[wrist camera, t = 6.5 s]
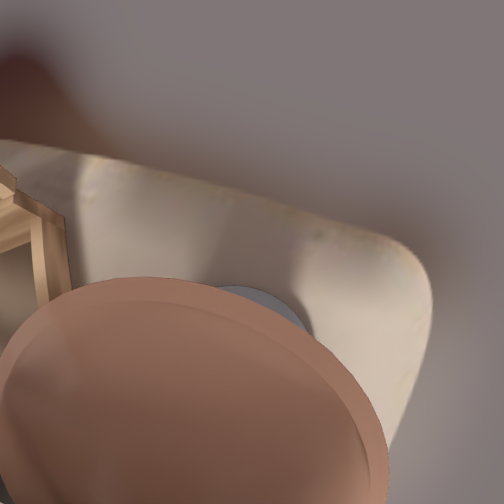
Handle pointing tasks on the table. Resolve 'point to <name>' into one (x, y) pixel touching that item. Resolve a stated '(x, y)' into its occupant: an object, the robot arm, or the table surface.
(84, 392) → the tan cylindrical canister
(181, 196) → the table surface
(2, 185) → the lid
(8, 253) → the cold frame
